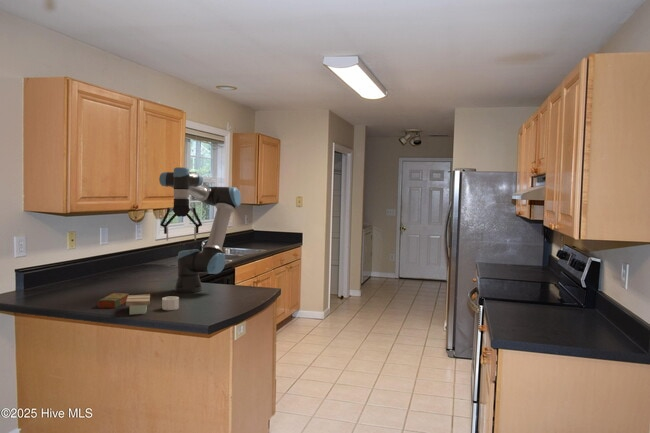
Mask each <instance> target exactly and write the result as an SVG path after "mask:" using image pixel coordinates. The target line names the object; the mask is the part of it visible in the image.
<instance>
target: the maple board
mask: <svg viewBox="0 0 650 433" xmlns="http://www.w3.org/2000/svg"><path fill="white" fill-rule="evenodd" d="M150 300H151V294H150V293H149V294H135V295H134V294H133V295H132V294H131V295H129V294H128V297H127V301H126V302H125V306H126V307H130V306H137V305H147V306H149V305H150V304H151V303H150V302H151V301H150Z"/></svg>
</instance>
